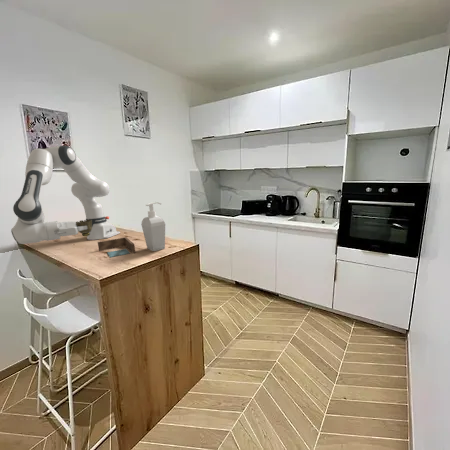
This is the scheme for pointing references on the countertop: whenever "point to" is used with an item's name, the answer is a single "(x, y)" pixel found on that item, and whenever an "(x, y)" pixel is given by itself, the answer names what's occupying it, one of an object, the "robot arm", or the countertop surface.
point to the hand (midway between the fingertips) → (86, 226)
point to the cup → (85, 223)
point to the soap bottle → (154, 229)
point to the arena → (115, 244)
